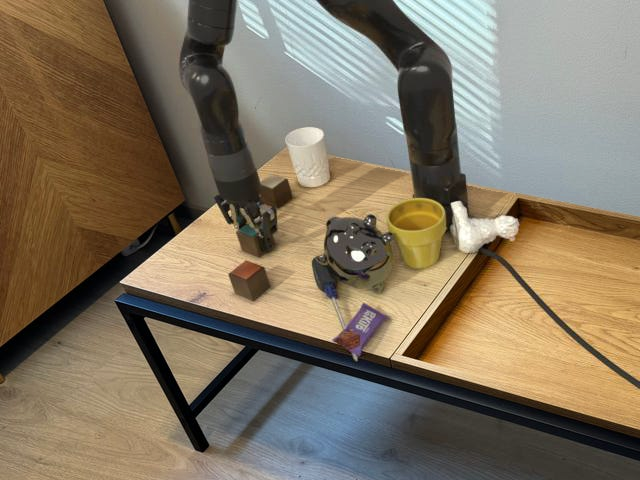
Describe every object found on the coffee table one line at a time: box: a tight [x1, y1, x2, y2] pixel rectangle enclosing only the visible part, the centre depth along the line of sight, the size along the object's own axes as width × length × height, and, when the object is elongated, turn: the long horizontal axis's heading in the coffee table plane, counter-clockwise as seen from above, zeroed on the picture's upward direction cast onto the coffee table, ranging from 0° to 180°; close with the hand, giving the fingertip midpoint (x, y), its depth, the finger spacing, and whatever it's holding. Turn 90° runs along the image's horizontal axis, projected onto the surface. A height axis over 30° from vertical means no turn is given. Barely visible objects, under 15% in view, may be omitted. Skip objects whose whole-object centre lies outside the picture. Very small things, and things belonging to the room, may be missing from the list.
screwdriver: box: [311, 256, 358, 362], centre depth 136 cm, size 26×4×4 cm
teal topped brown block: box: [235, 219, 276, 258], centre depth 151 cm, size 4×4×5 cm
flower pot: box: [386, 197, 447, 269], centre depth 144 cm, size 10×10×10 cm
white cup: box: [284, 126, 331, 188], centre depth 166 cm, size 8×8×10 cm
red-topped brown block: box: [228, 259, 271, 302], centre depth 142 cm, size 4×4×5 cm
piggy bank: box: [315, 213, 396, 295], centre depth 139 cm, size 11×15×12 cm
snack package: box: [332, 302, 390, 357], centre depth 131 cm, size 12×2×5 cm
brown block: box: [259, 173, 294, 210], centre depth 163 cm, size 4×4×5 cm
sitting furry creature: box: [449, 201, 520, 254], centre depth 147 cm, size 10×9×12 cm
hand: (258, 246), depth 152 cm, fingers closed on teal topped brown block, 4 cm apart
